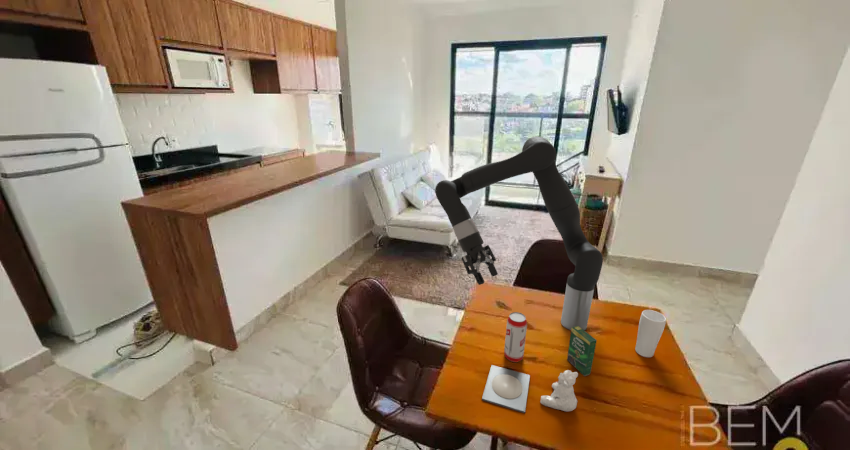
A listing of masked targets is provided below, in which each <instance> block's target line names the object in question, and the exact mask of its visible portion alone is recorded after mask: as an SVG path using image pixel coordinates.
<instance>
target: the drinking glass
mask: <svg viewBox="0 0 850 450" xmlns="http://www.w3.org/2000/svg"><path fill="white" fill-rule="evenodd" d="M666 323H667V318H666V316H665V315H664V314H663V313H661V312H659V311H656V310H652V309H644V310H643V311H641V315H640V319H639V323H638V330H637V337H636V344H635V347H634V349H635V352H636V353H637V354H638V355H640V356H641V357H644V358H652V357H653V356H655V351H656V350H657V346H658V345H659V341H660V339H661V337H662V335H663V332H664V329H665V326H666Z"/></svg>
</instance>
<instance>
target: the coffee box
mask: <svg viewBox="0 0 850 450" xmlns="http://www.w3.org/2000/svg"><path fill="white" fill-rule="evenodd" d="M596 346H597V339H596V338H595V337H593V336H592V335H591V334H589V333H588V332H587V331H586V330H583V329H582V328H580V327H579V326H575V327H572V329H571V330H570V338H569V344H568V352H567V357H566V359H567V360H566V361H568V363H569V364H571V365H572V366H573V367H574V368H575V369H576V370H577V372H579V373H580V374H581V375H582V376H583V377H586V376H589V375H590V374H591V372H592V368H593V367H592V366H593V361H594V356H595V350H596Z"/></svg>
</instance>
